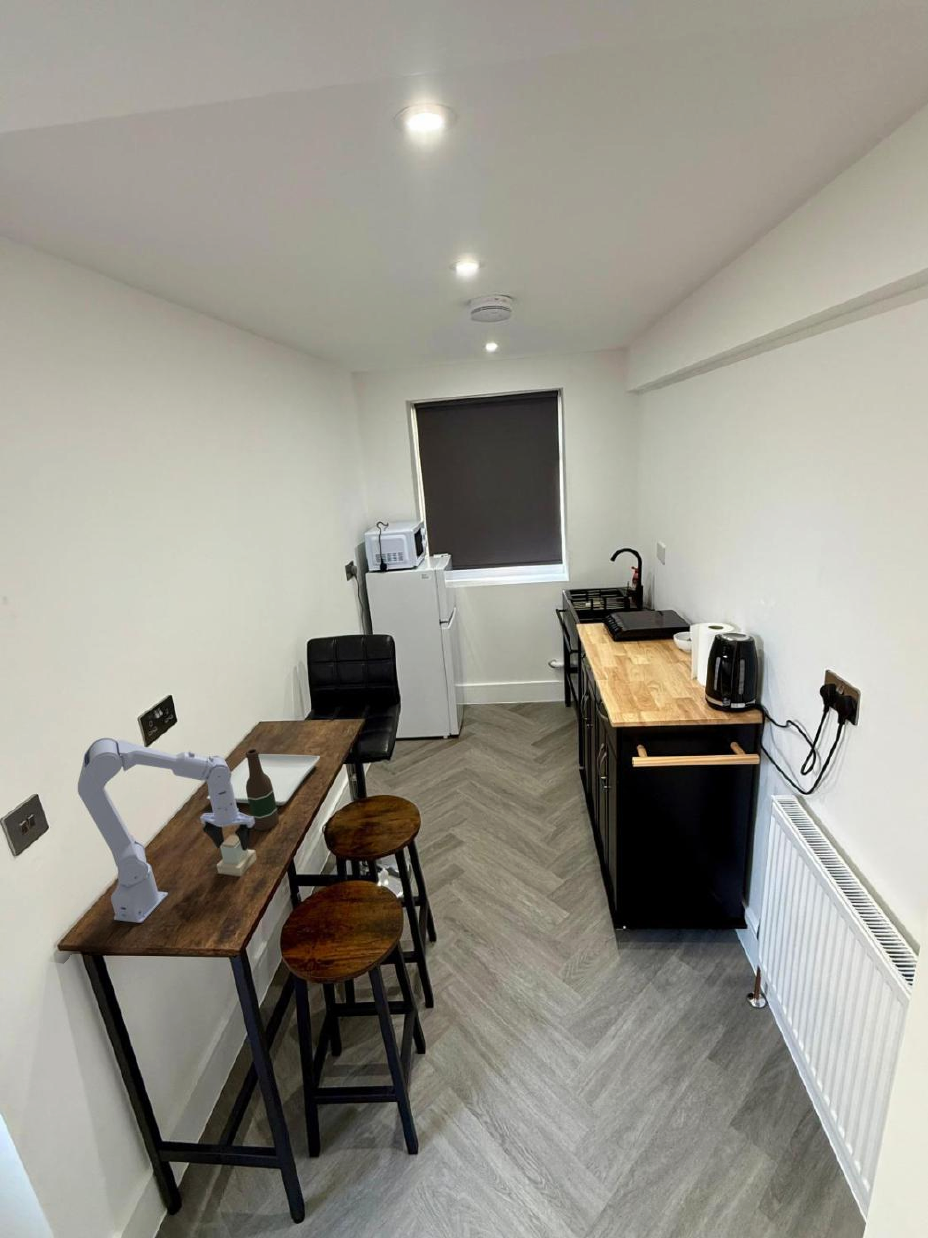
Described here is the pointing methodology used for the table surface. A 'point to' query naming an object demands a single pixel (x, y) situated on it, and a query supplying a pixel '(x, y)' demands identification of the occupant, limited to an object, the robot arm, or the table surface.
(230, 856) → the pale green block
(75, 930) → the table surface
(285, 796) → the square plate
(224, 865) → the base block
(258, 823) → the beer bottle
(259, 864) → the table surface
